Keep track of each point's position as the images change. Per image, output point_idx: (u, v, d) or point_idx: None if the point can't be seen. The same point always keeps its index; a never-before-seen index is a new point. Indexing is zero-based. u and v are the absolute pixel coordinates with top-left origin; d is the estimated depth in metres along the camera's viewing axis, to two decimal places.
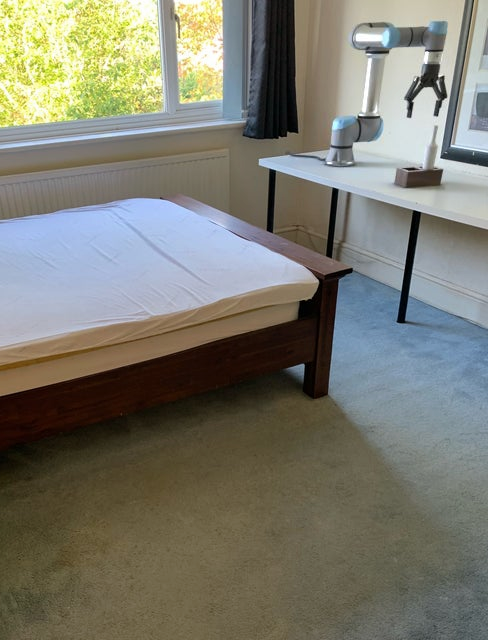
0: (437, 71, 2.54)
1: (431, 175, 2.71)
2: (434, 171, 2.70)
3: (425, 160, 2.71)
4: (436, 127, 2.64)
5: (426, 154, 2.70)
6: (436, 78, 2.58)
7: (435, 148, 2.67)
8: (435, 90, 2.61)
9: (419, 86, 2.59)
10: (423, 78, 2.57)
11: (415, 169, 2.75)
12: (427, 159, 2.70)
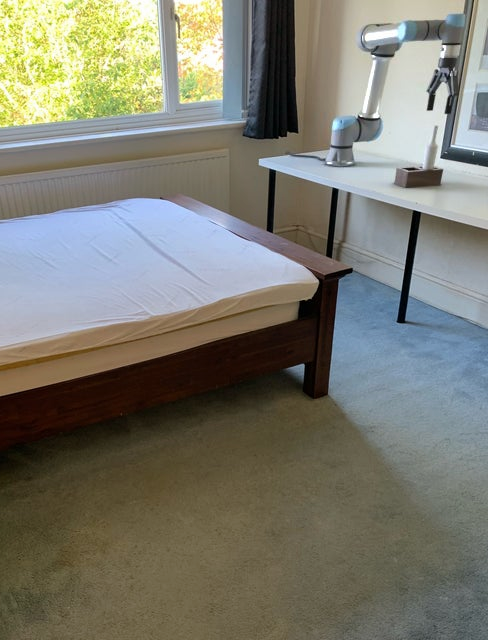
0: (441, 65, 2.50)
1: (431, 175, 2.71)
2: (434, 171, 2.70)
3: (425, 160, 2.71)
4: (436, 127, 2.64)
5: (426, 154, 2.70)
6: (447, 73, 2.50)
7: (435, 148, 2.67)
8: None
9: None
10: (438, 71, 2.55)
11: (415, 169, 2.75)
12: (427, 159, 2.70)
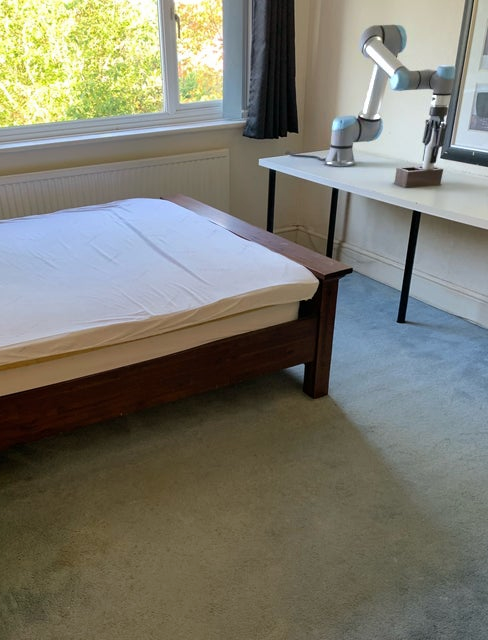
0: (432, 114, 2.60)
1: (431, 175, 2.71)
2: (434, 171, 2.70)
3: (425, 160, 2.71)
4: None
5: (426, 154, 2.70)
6: (438, 121, 2.60)
7: None
8: None
9: None
10: (430, 119, 2.65)
11: (415, 169, 2.75)
12: (427, 159, 2.70)
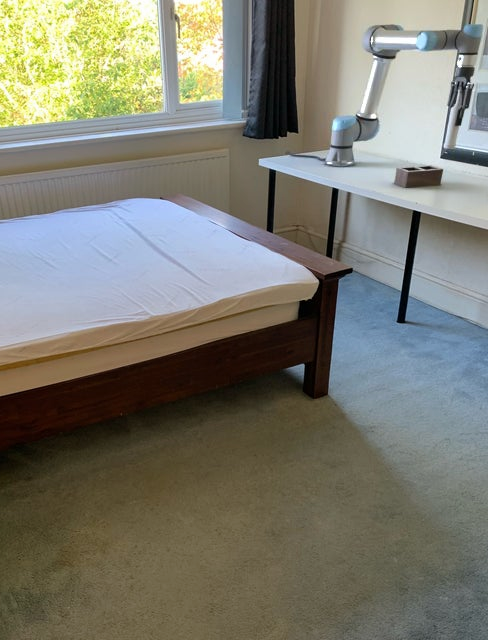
0: (458, 74, 2.55)
1: (431, 175, 2.71)
2: (434, 171, 2.70)
3: (450, 123, 2.66)
4: None
5: (451, 117, 2.65)
6: (464, 82, 2.55)
7: None
8: None
9: None
10: None
11: (415, 169, 2.75)
12: (452, 122, 2.65)
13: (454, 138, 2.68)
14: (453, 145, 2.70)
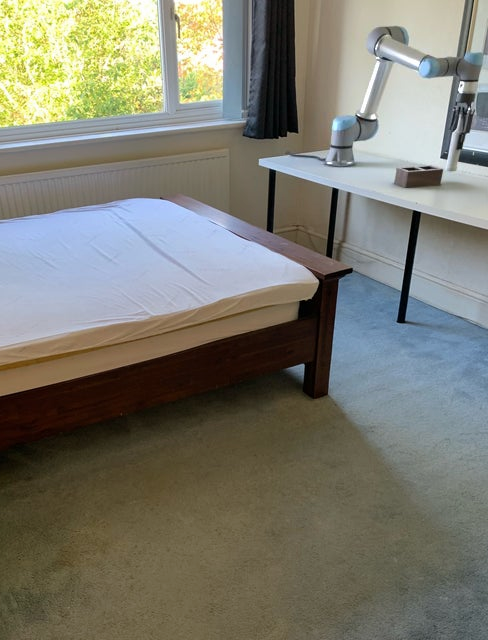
0: (460, 100, 2.61)
1: (431, 175, 2.71)
2: (434, 171, 2.70)
3: (451, 147, 2.73)
4: None
5: (452, 141, 2.71)
6: (465, 107, 2.62)
7: None
8: None
9: None
10: (457, 105, 2.67)
11: (415, 169, 2.75)
12: (454, 146, 2.72)
13: (455, 161, 2.75)
14: (454, 168, 2.76)
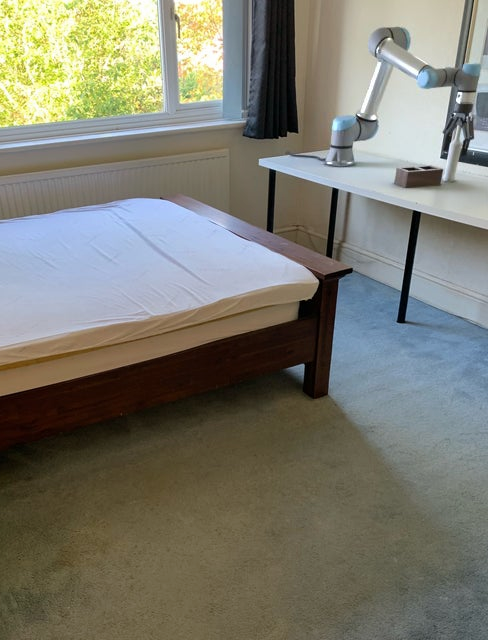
0: (457, 111, 2.64)
1: (431, 175, 2.71)
2: (434, 171, 2.70)
3: (449, 157, 2.75)
4: None
5: (450, 151, 2.74)
6: (463, 118, 2.64)
7: (459, 145, 2.71)
8: None
9: None
10: (455, 115, 2.69)
11: (415, 169, 2.75)
12: (452, 156, 2.74)
13: (453, 171, 2.78)
14: (452, 178, 2.79)
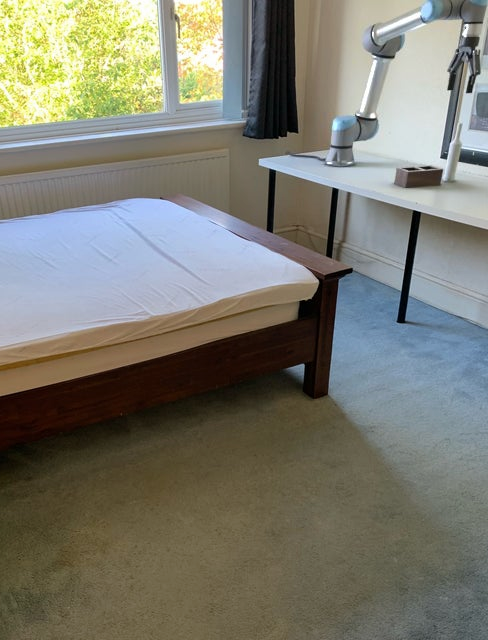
0: (463, 44, 2.52)
1: (431, 175, 2.71)
2: (434, 171, 2.70)
3: (449, 157, 2.75)
4: (461, 125, 2.68)
5: (450, 151, 2.74)
6: (469, 52, 2.52)
7: (459, 145, 2.71)
8: None
9: None
10: (460, 51, 2.57)
11: (415, 169, 2.75)
12: (452, 156, 2.74)
13: (453, 171, 2.78)
14: (452, 178, 2.79)
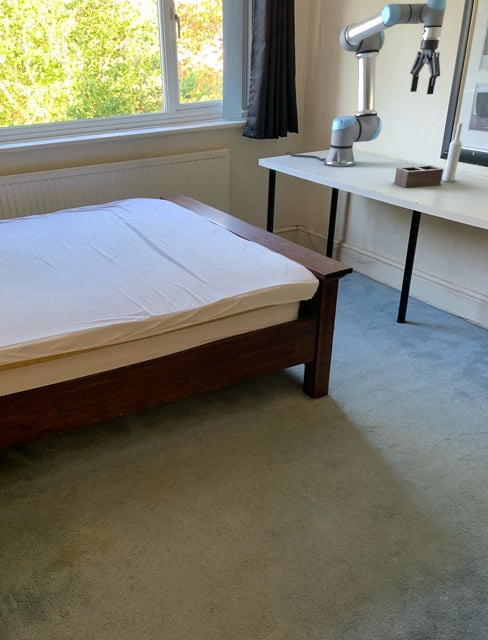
0: (423, 47, 2.60)
1: (431, 175, 2.71)
2: (434, 171, 2.70)
3: (449, 157, 2.75)
4: (461, 125, 2.68)
5: (450, 151, 2.74)
6: (429, 54, 2.61)
7: (459, 145, 2.71)
8: None
9: None
10: (421, 53, 2.66)
11: (415, 169, 2.75)
12: (452, 156, 2.74)
13: (453, 171, 2.78)
14: (452, 178, 2.79)
